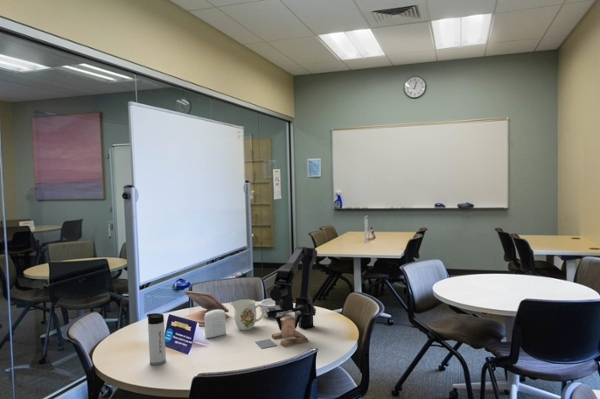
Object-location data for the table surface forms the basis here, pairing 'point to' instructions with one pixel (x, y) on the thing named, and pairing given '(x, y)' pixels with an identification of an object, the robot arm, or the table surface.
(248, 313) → the pitcher
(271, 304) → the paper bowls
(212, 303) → the case
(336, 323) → the table surface
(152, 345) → the travel mug
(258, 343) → the mat
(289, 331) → the peach rounded canister
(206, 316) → the white tombstone
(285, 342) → the brown u-shaped piece
